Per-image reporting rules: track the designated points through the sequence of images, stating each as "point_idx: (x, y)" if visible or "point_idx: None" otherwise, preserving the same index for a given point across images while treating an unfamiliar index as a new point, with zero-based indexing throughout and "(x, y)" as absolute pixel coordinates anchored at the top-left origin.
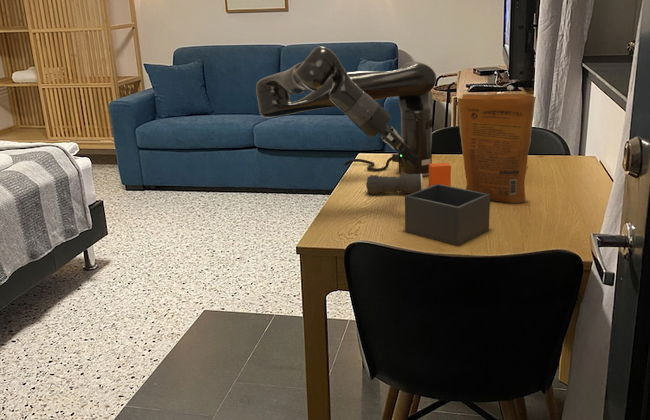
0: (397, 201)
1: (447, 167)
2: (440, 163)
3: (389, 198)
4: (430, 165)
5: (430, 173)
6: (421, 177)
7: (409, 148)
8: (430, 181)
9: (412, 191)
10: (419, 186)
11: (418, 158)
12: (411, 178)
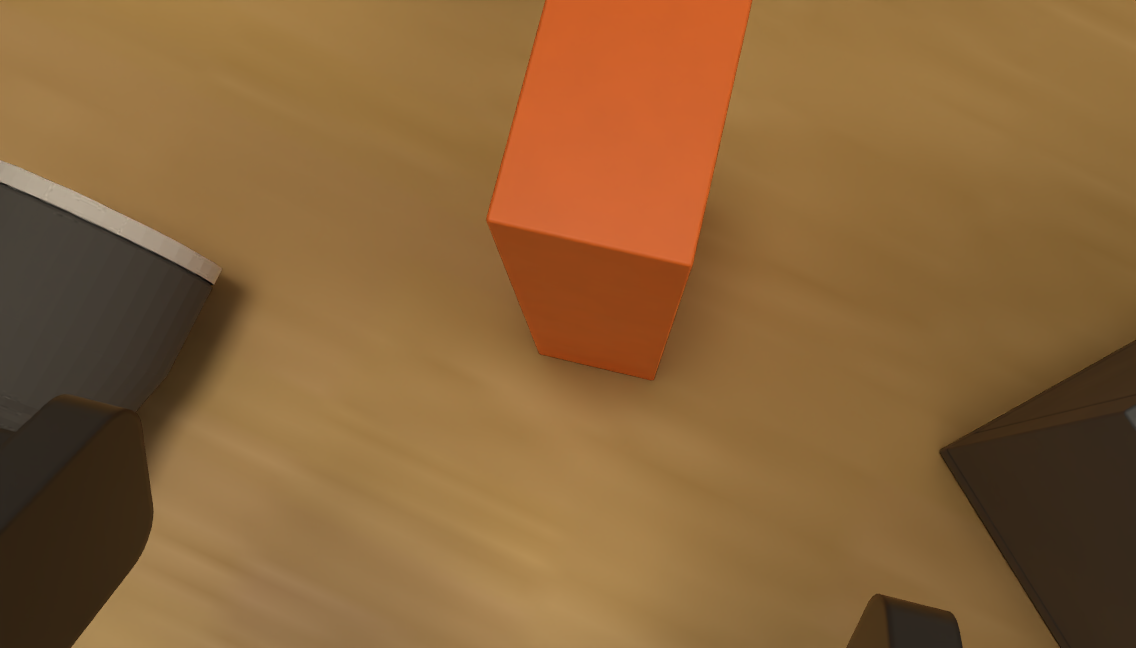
0: (286, 602)
1: (747, 20)
2: (560, 41)
3: (147, 640)
4: (611, 245)
5: (630, 288)
6: (116, 223)
7: (81, 480)
8: (630, 316)
9: (170, 368)
10: (194, 291)
11: (941, 621)
12: (67, 343)
